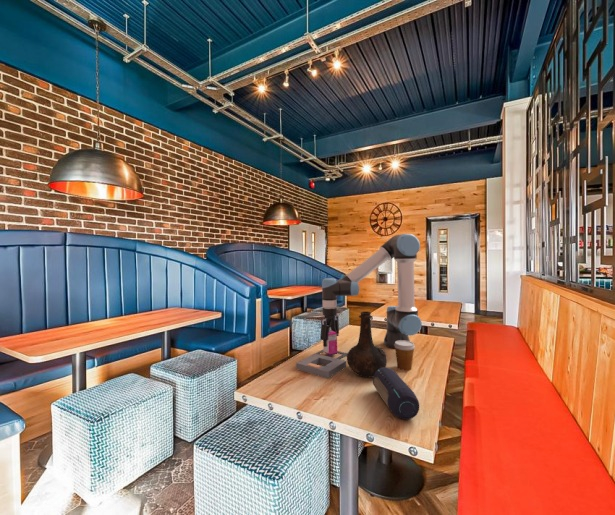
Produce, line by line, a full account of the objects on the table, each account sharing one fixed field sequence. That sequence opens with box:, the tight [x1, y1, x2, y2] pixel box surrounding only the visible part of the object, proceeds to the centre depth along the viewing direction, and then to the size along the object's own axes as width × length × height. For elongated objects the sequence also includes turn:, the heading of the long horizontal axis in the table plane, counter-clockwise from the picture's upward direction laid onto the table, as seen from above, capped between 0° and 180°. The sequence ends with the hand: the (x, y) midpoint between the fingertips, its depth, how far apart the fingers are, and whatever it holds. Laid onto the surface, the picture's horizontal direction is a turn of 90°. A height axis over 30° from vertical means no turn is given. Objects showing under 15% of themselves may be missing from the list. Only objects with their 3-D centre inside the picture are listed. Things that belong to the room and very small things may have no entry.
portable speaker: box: [372, 366, 420, 420], centre depth 108 cm, size 25×10×10 cm, turn 5°
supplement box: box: [323, 329, 338, 356], centre depth 159 cm, size 6×6×12 cm
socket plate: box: [295, 352, 347, 379], centre depth 142 cm, size 18×16×3 cm
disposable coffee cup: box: [394, 340, 416, 372], centre depth 142 cm, size 10×10×12 cm
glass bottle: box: [346, 311, 388, 378], centre depth 136 cm, size 18×18×28 cm
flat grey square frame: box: [315, 349, 348, 360], centre depth 159 cm, size 15×15×1 cm
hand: (330, 350), depth 159 cm, fingers closed on supplement box, 8 cm apart
